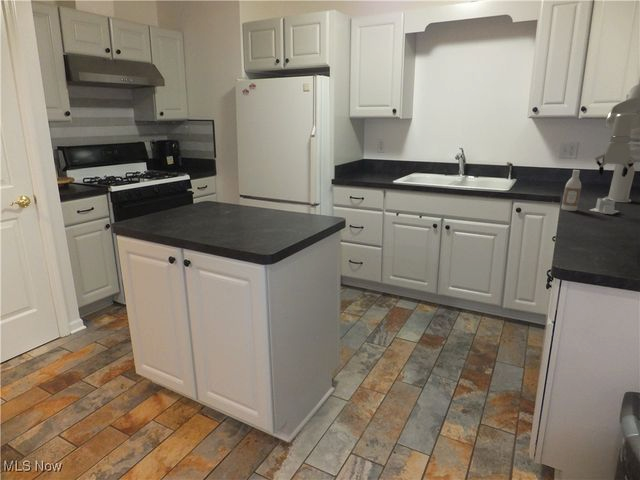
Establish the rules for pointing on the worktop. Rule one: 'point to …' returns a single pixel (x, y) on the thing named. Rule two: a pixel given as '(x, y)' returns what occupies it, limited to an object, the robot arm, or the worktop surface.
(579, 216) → the worktop surface
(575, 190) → the bath foam
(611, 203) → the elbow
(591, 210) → the duct stub
